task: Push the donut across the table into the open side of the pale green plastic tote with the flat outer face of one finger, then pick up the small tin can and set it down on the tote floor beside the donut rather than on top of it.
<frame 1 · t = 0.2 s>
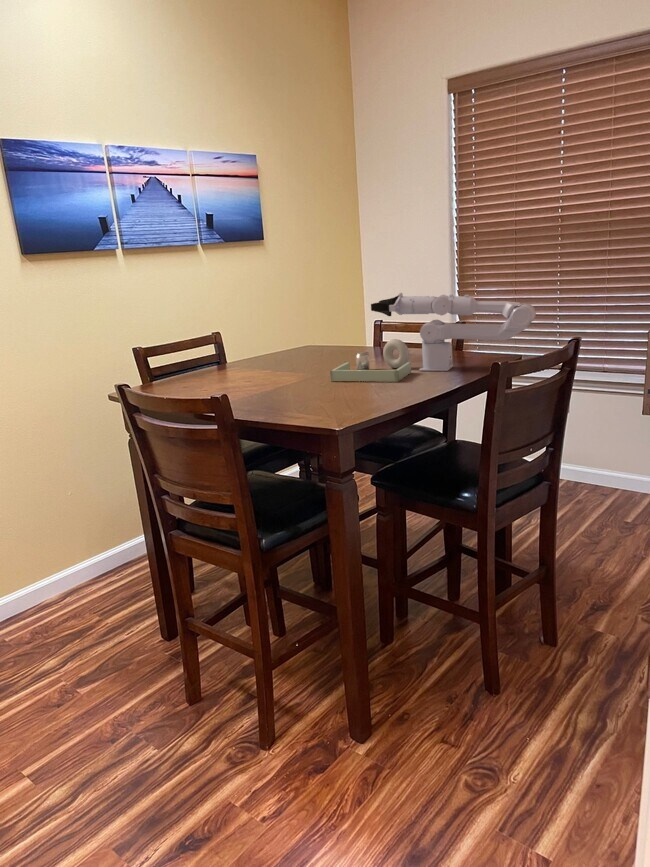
hand: (375, 305, 216), 21 cm above the table, tool horizontal, fingers open, 7 cm apart
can: (363, 370, 221), on the table
donut: (396, 369, 220), on the table
tote: (371, 377, 208), on the table
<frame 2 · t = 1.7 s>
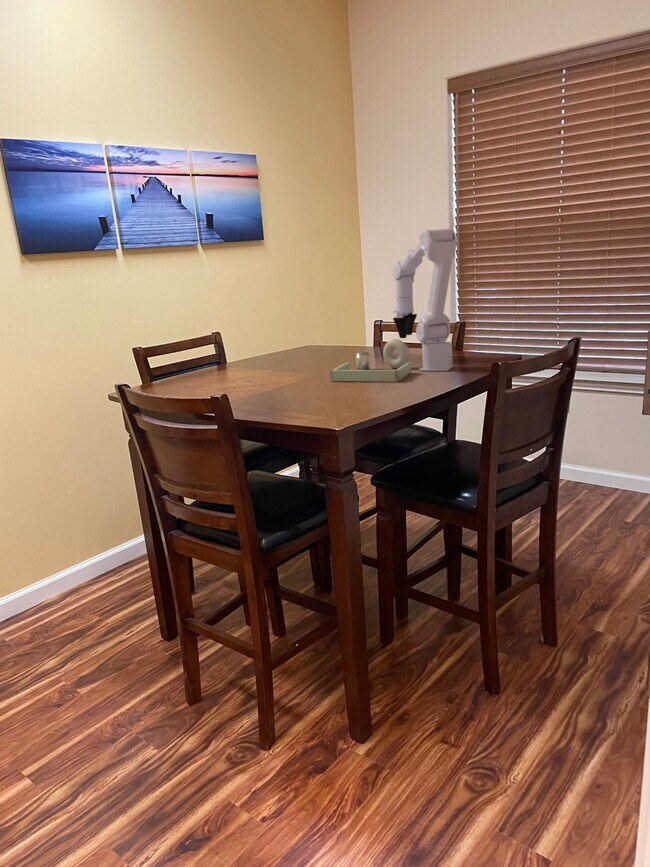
hand: (405, 336, 229), 9 cm above the table, tool pointing down, fingers open, 7 cm apart
nothing on the table moved.
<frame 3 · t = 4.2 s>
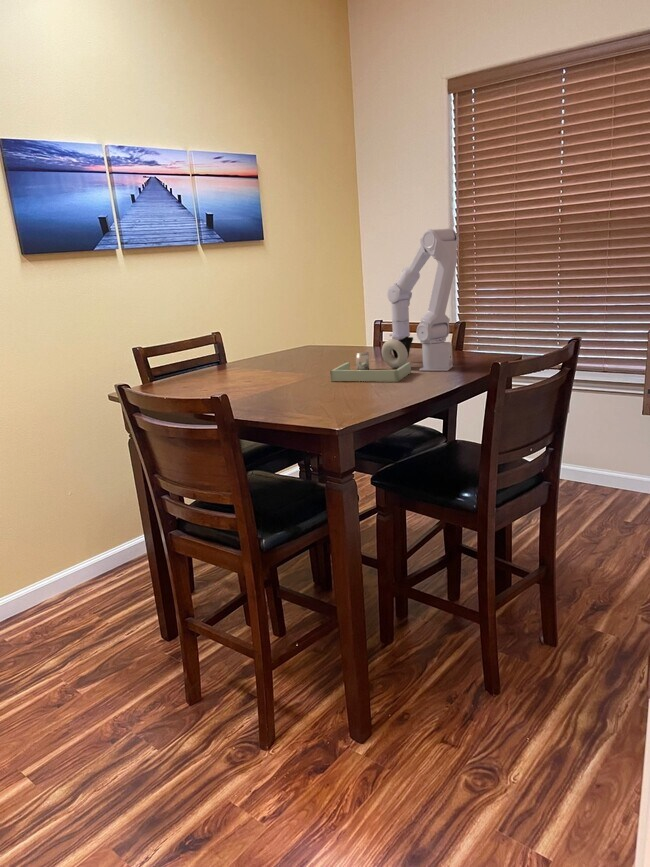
hand: (402, 360, 225), 2 cm above the table, tool pointing down, fingers open, 7 cm apart
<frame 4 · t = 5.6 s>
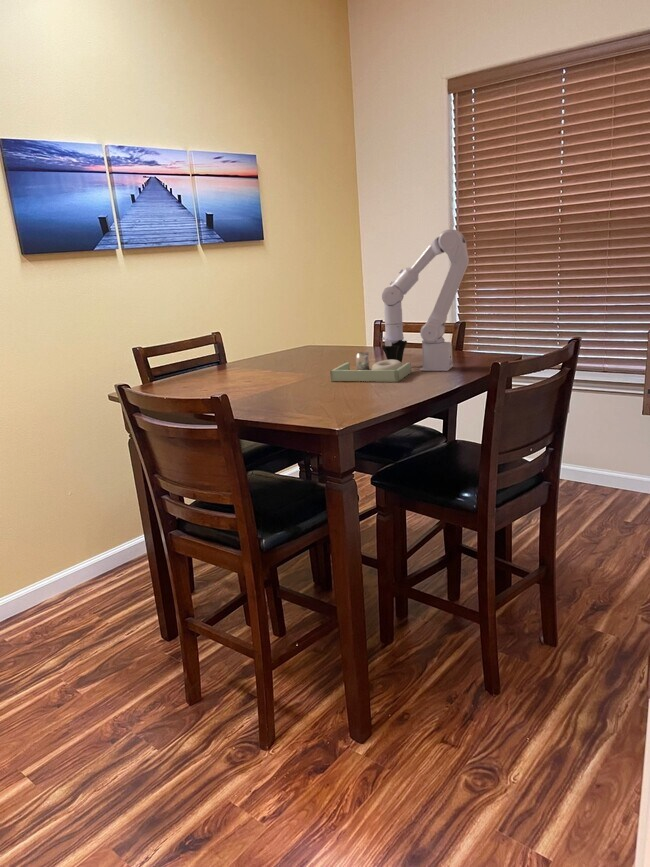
hand: (395, 364, 218), 2 cm above the table, tool pointing down, fingers open, 7 cm apart
donut: (383, 364, 214), point 3 cm above the table, touching gripper
everything else where it was.
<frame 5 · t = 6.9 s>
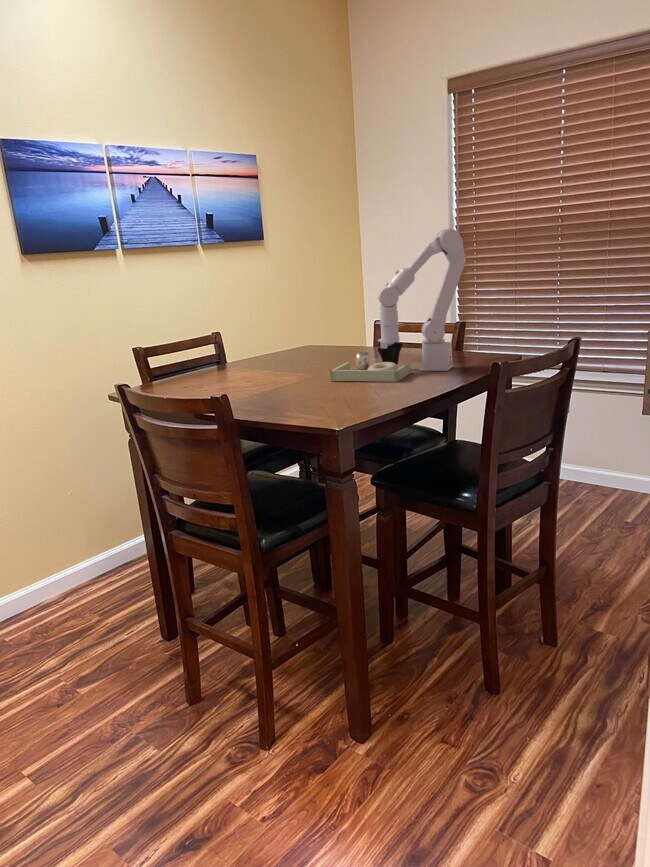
hand: (391, 367, 214), 2 cm above the table, tool pointing down, fingers open, 6 cm apart
donut: (379, 366, 210), point 3 cm above the table, touching gripper, tote
everything else where it was.
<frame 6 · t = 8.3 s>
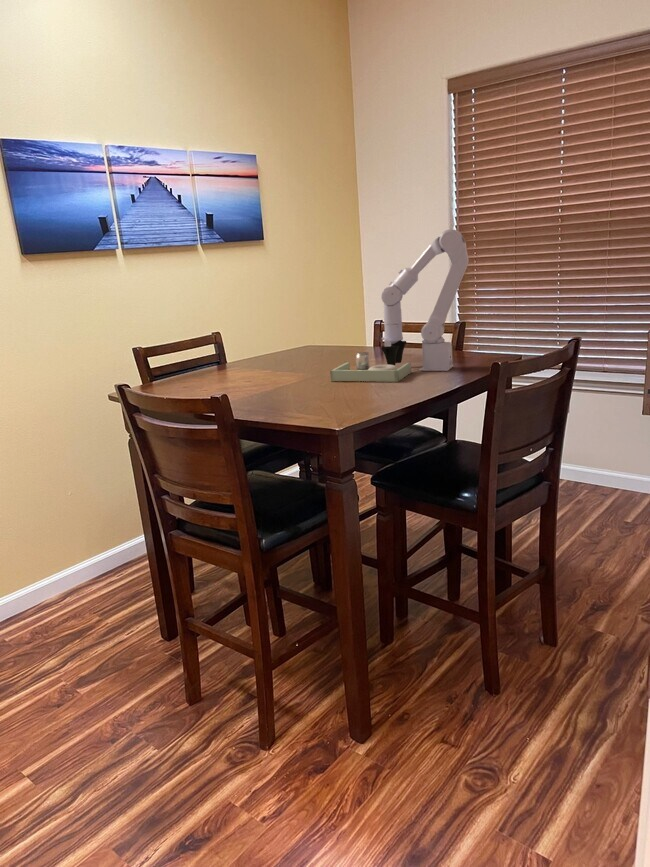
hand: (394, 364, 217), 2 cm above the table, tool pointing down, fingers open, 7 cm apart
donut: (380, 369, 210), point 2 cm above the table, touching tote
everything else where it was.
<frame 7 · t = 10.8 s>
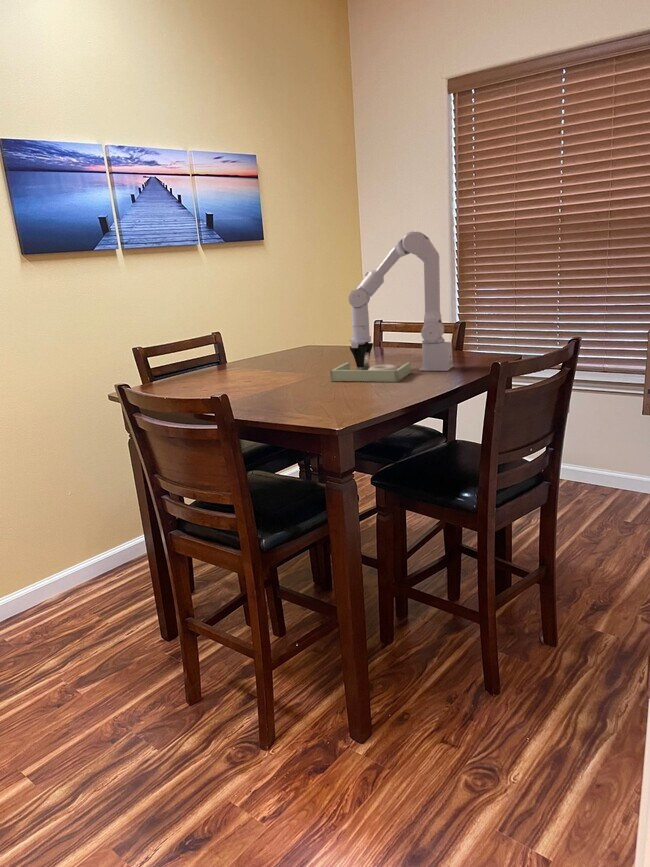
hand: (362, 366, 221), 1 cm above the table, tool pointing down, fingers closed on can, 4 cm apart
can: (363, 370, 221), on the table, touching gripper
everything else where it was.
when the fingers open (2 cm above the table, at t = 15.1 s): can stays where it is, resting on tote.
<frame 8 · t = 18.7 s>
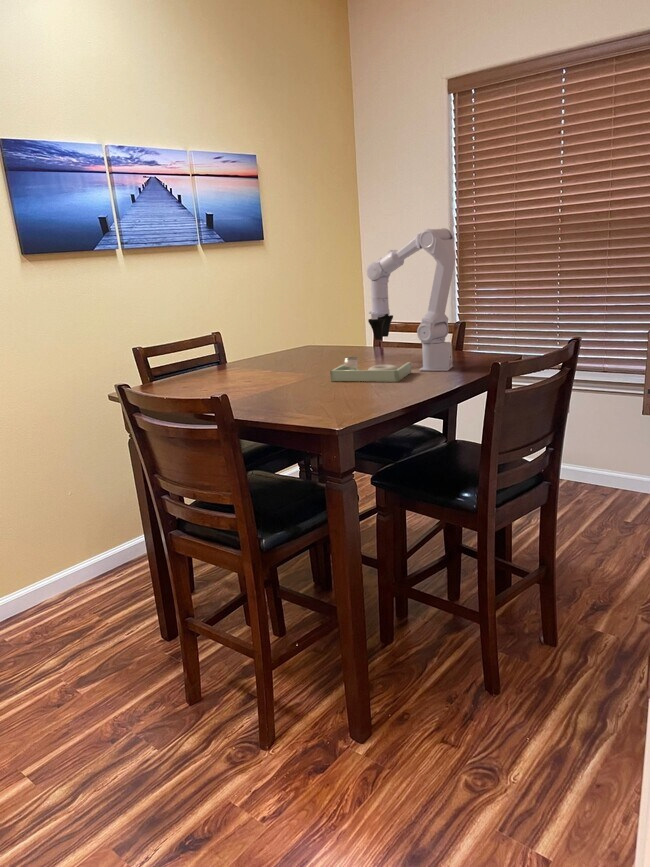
hand: (381, 338, 226), 9 cm above the table, tool pointing down, fingers open, 7 cm apart
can: (351, 375, 211), resting on tote
everything else where it was.
at the end: donut inside the target area on the tote (3.8 cm from its centre), point 1.9 cm above the tote's base; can inside the target area on the tote (7.2 cm from its centre), point 0.3 cm above the tote's base; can tilted 0° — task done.
